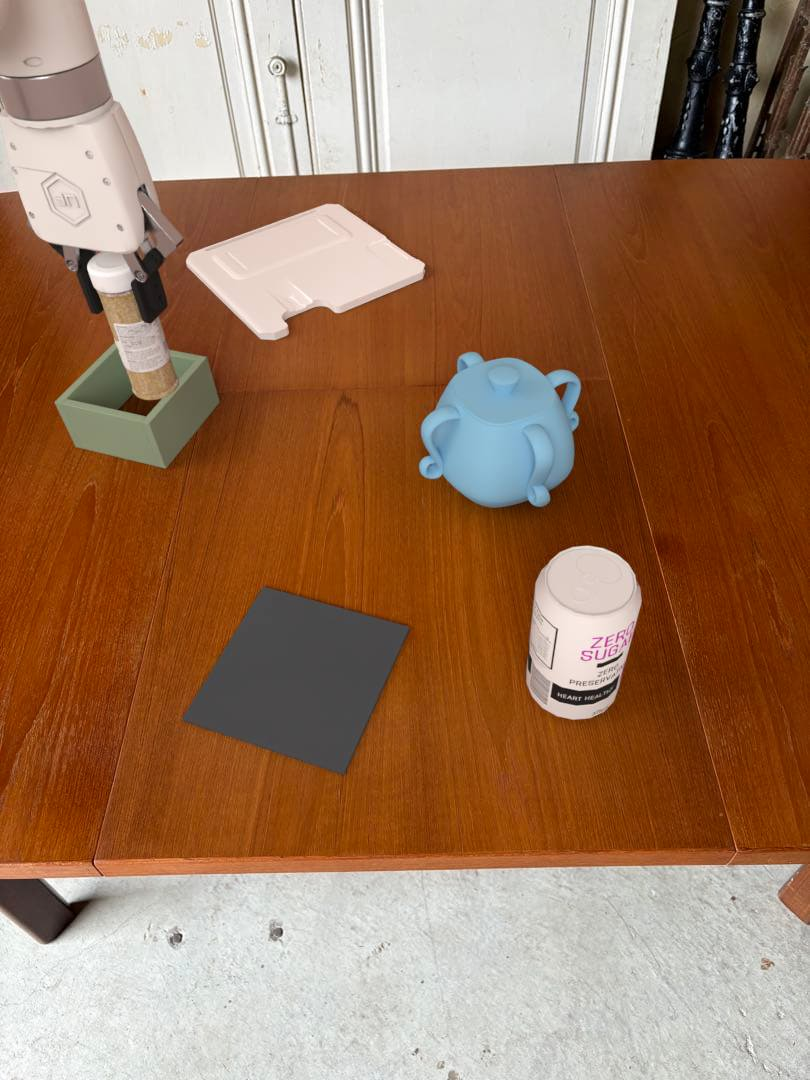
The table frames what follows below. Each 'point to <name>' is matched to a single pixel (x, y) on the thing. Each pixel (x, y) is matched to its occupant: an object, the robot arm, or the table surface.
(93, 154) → the robot arm
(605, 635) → the supplement can
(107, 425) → the crate
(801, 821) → the table surface
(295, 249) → the tray
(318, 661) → the mat
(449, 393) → the decorative pot
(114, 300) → the sprinkles bottle
